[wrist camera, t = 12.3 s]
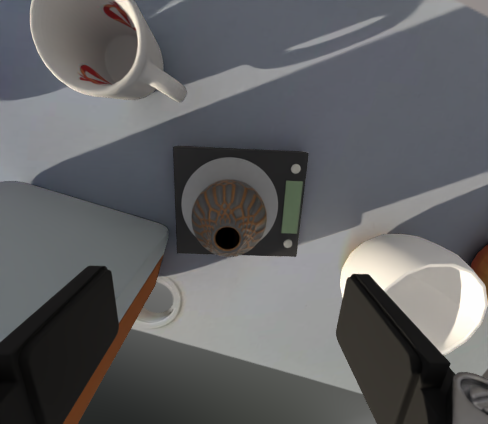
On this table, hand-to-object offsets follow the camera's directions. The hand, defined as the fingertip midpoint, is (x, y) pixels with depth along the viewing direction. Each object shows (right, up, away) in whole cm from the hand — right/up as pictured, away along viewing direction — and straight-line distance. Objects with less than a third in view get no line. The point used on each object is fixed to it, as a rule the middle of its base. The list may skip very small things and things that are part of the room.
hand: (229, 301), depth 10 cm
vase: (-1, +4, +17) cm, 17 cm away
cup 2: (+18, -3, +22) cm, 29 cm away
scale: (0, +5, +19) cm, 20 cm away
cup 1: (-9, +18, +15) cm, 25 cm away
